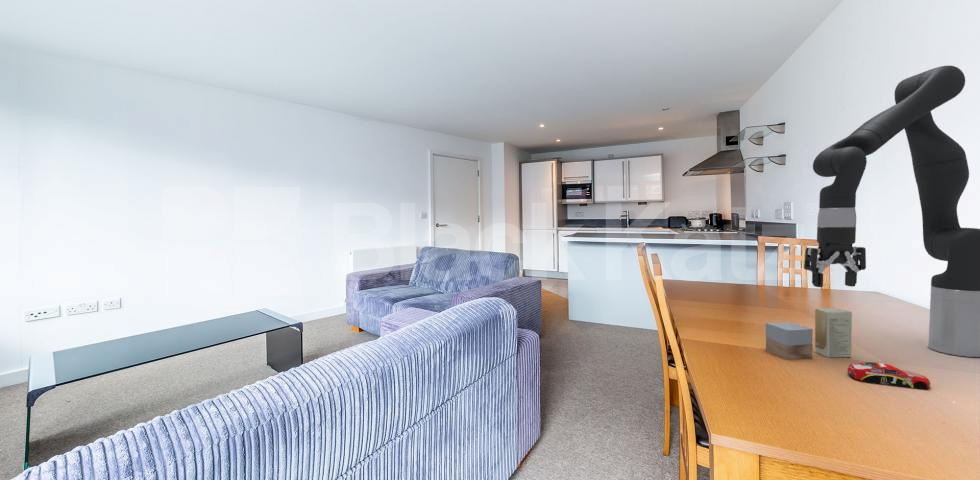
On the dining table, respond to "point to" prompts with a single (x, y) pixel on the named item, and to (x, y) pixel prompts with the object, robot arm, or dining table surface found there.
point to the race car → (887, 375)
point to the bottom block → (789, 350)
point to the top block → (789, 333)
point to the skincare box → (833, 332)
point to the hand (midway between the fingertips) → (833, 286)
